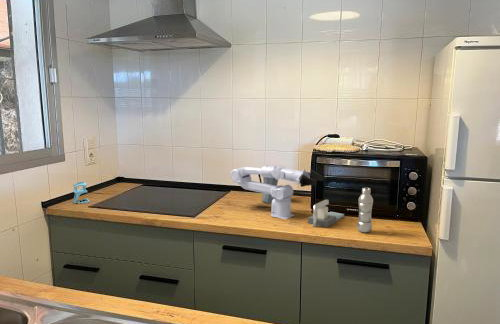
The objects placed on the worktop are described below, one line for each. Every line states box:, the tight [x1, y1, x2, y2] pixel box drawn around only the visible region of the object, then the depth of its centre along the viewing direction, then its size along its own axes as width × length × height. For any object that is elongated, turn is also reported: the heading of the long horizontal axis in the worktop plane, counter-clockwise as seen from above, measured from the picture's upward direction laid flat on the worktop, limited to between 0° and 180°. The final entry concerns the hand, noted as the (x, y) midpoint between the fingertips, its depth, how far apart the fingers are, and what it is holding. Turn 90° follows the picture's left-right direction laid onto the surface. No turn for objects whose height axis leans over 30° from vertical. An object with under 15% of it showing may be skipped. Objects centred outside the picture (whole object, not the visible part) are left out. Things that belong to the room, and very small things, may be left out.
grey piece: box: [312, 199, 330, 228], centre depth 180 cm, size 13×2×10 cm, turn 143°
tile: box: [328, 211, 345, 222], centre depth 190 cm, size 9×9×2 cm
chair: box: [72, 181, 91, 204], centre depth 218 cm, size 8×8×12 cm
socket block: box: [307, 214, 337, 228], centre depth 182 cm, size 10×10×3 cm
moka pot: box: [257, 174, 279, 204], centre depth 219 cm, size 10×15×20 cm, turn 58°
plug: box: [318, 205, 329, 220], centre depth 181 cm, size 4×4×8 cm
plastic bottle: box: [356, 187, 374, 233], centre depth 169 cm, size 6×7×20 cm
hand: (320, 180), depth 178 cm, fingers open, 7 cm apart
